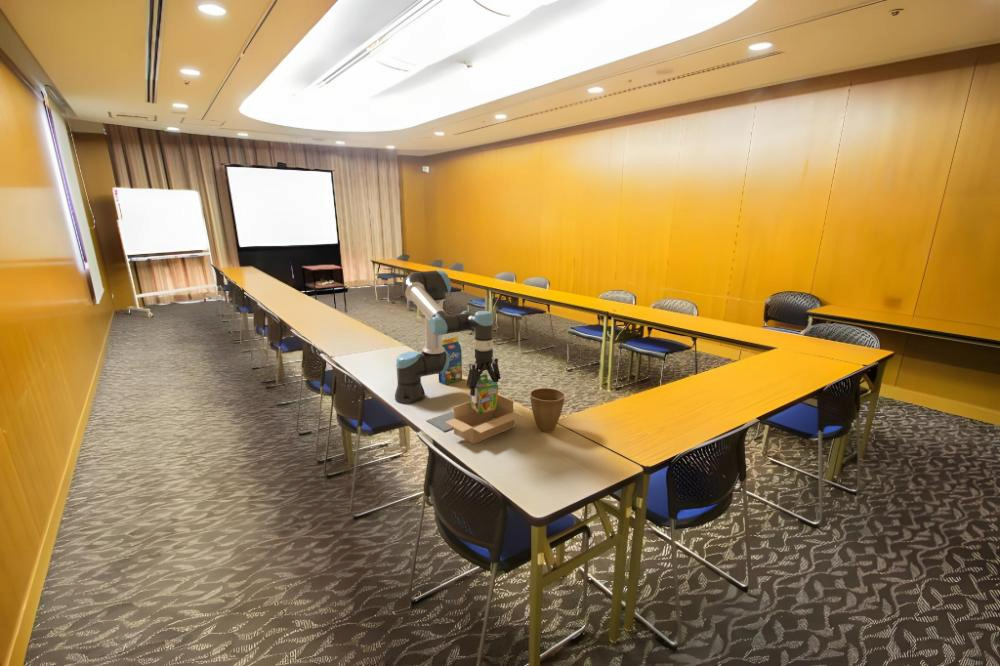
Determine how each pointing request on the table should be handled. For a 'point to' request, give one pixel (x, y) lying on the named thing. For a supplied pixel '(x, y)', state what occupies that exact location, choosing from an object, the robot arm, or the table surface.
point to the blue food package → (452, 362)
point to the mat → (442, 421)
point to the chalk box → (485, 396)
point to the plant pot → (546, 407)
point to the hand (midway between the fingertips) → (483, 398)
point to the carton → (483, 420)
